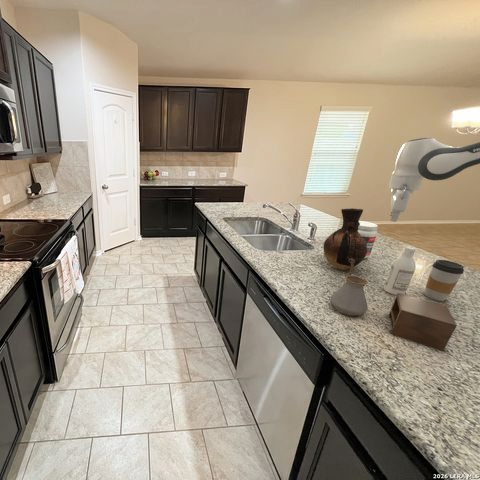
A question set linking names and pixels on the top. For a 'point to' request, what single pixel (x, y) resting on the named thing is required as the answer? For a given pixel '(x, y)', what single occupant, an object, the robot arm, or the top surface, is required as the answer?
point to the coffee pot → (351, 295)
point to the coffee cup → (443, 279)
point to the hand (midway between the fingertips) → (392, 218)
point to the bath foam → (401, 273)
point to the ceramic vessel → (346, 242)
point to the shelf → (422, 321)
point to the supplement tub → (368, 234)
